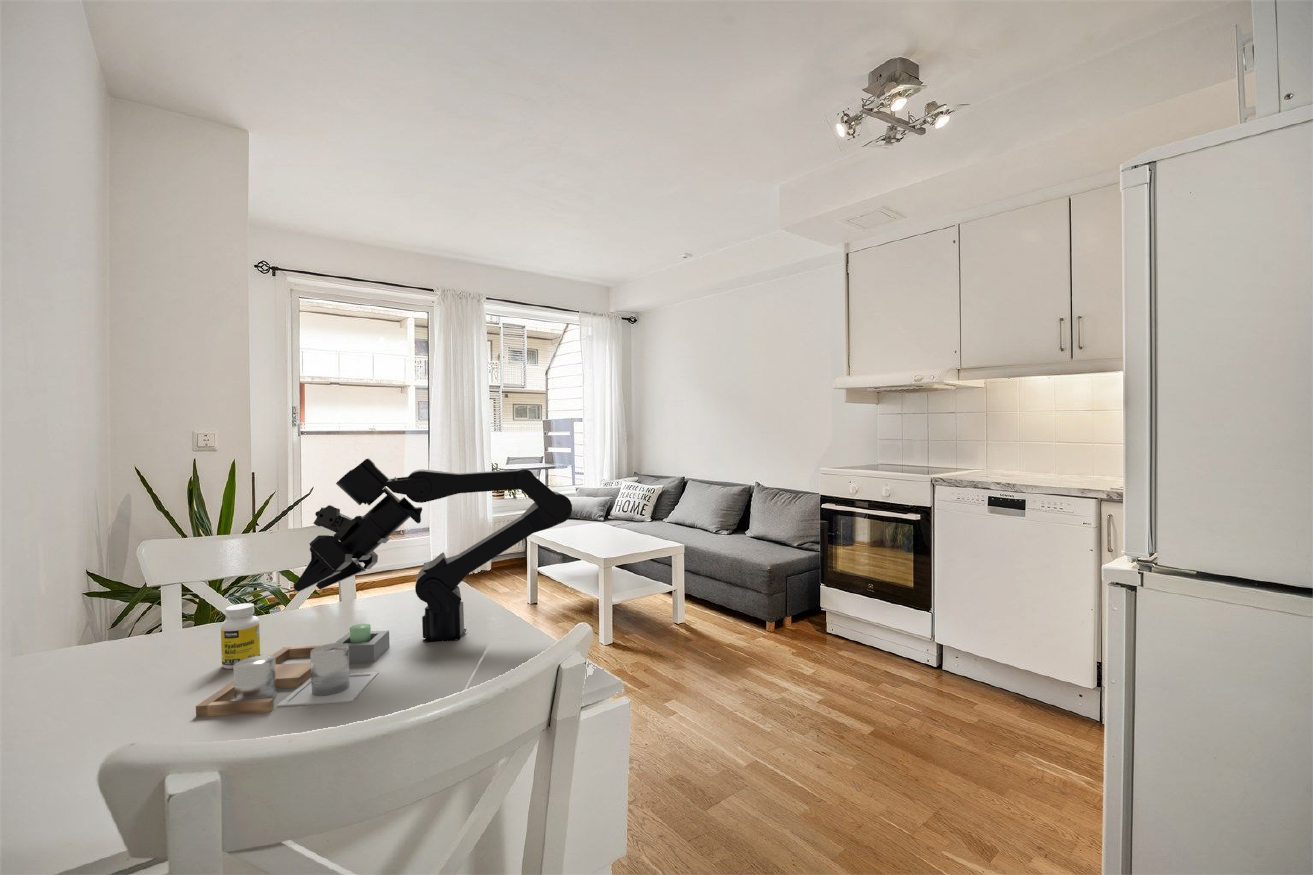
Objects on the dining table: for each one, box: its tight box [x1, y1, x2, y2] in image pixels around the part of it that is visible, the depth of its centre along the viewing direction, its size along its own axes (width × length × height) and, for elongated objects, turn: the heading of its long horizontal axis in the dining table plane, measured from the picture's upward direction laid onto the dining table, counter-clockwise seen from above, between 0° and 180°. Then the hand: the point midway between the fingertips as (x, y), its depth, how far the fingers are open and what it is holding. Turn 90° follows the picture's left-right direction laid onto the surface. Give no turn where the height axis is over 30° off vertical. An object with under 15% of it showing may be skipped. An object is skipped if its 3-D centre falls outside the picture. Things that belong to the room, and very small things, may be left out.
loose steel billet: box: [309, 642, 351, 696], centre depth 88 cm, size 5×5×6 cm
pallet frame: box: [195, 644, 323, 718], centre depth 92 cm, size 10×22×2 cm, turn 5°
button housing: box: [334, 630, 390, 665], centre depth 102 cm, size 7×7×4 cm
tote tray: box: [276, 671, 379, 708], centre depth 88 cm, size 10×10×1 cm
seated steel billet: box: [233, 654, 277, 701], centre depth 86 cm, size 5×5×6 cm
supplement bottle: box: [220, 602, 261, 670], centre depth 101 cm, size 5×5×10 cm
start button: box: [349, 623, 372, 643], centre depth 102 cm, size 3×3×3 cm
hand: (307, 588), depth 103 cm, fingers open, 9 cm apart
